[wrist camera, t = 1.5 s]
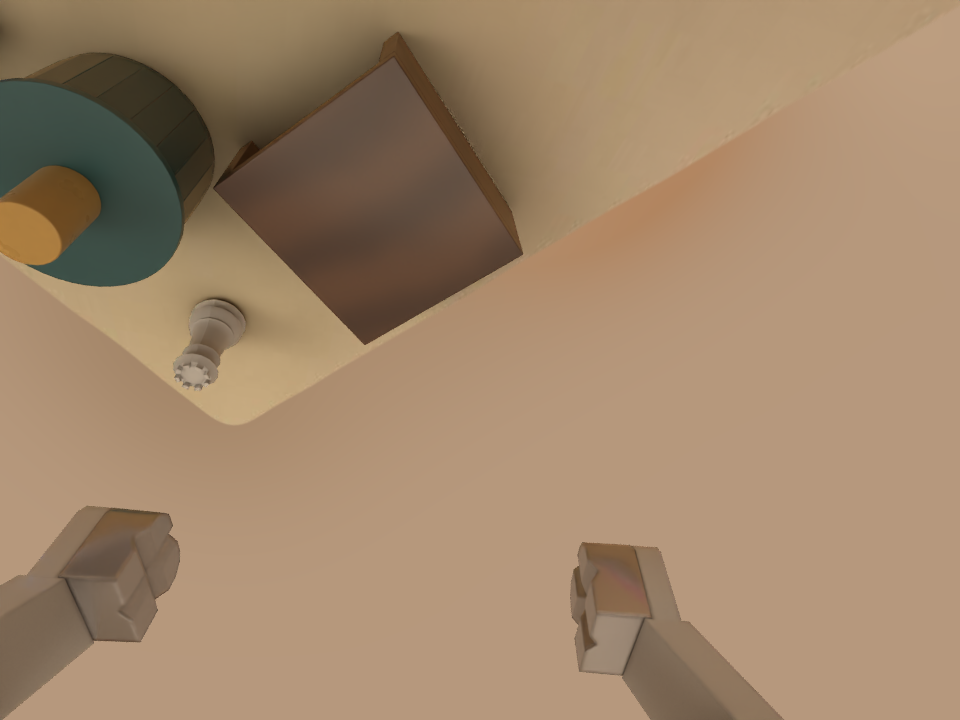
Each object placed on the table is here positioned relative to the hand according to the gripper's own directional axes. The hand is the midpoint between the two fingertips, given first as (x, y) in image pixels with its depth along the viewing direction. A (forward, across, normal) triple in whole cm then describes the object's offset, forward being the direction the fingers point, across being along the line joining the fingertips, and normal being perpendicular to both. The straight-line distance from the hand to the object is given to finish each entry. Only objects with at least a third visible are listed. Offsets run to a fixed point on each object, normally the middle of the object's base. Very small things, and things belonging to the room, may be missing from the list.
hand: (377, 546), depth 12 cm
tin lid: (+26, +22, +3) cm, 35 cm away
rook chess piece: (+37, +20, +16) cm, 45 cm away
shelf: (+37, +6, +4) cm, 37 cm away
